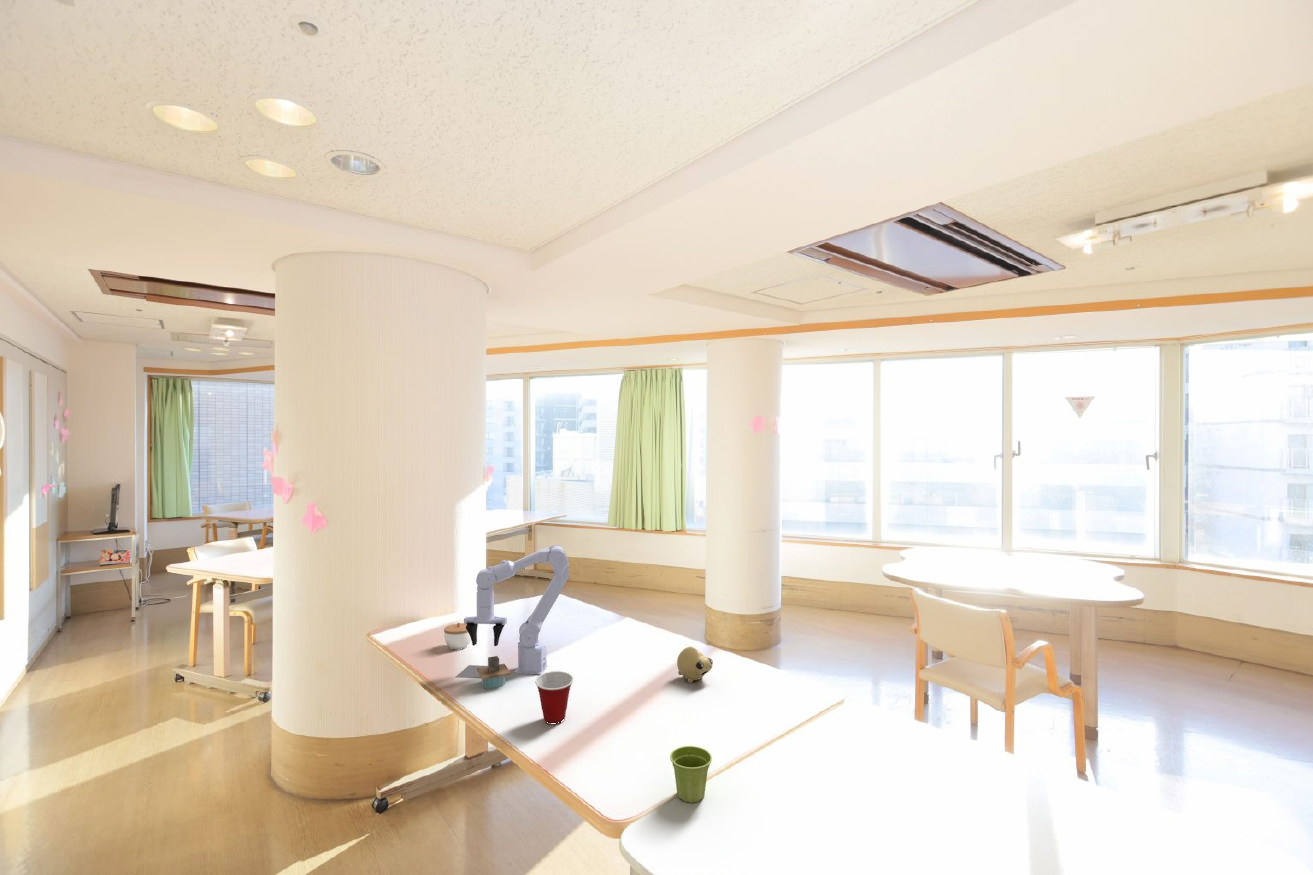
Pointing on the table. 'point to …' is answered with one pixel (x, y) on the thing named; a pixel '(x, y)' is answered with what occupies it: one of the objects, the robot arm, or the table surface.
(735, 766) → the table surface
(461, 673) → the mat
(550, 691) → the plastic cup
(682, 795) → the plant pot
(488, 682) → the bowl
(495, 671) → the cover
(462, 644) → the lidded jar
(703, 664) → the tan toy animal
